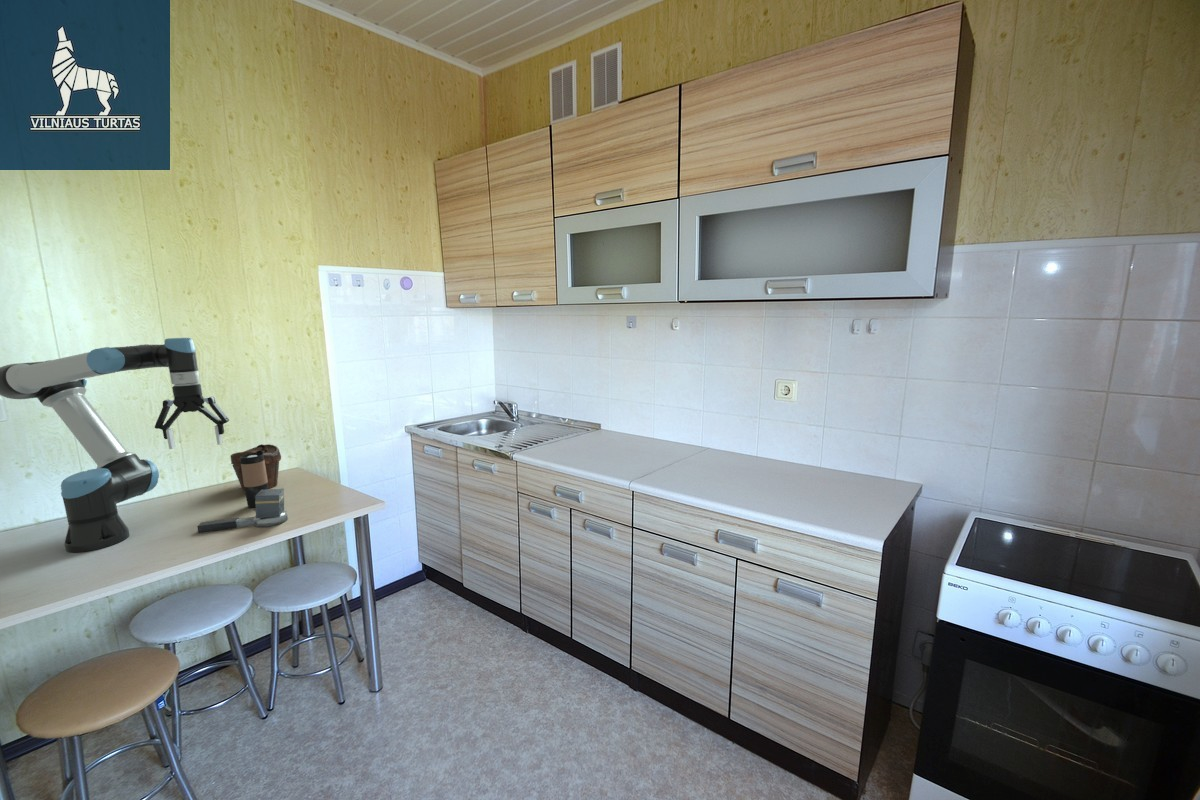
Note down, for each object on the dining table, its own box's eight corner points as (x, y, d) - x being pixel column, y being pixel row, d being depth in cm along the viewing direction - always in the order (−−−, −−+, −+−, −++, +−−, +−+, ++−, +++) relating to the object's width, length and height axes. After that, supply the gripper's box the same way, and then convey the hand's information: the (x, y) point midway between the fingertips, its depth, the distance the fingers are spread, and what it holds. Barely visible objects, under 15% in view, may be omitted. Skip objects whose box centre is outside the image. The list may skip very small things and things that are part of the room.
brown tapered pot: (281, 476, 234) (275, 438, 230) (288, 487, 218) (282, 446, 215) (233, 486, 223) (226, 446, 219) (238, 498, 207) (230, 455, 204)
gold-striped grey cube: (255, 518, 176) (255, 495, 175) (261, 511, 183) (261, 489, 182) (279, 517, 179) (279, 495, 178) (284, 510, 185) (284, 488, 184)
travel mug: (275, 501, 201) (268, 452, 198) (260, 509, 194) (253, 458, 191) (257, 501, 202) (250, 452, 199) (242, 508, 195) (234, 458, 191)
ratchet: (194, 537, 170) (190, 515, 169) (206, 525, 179) (202, 505, 178) (283, 524, 178) (281, 504, 177) (290, 514, 188) (288, 495, 186)
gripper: (134, 388, 164) (146, 452, 167) (226, 383, 172) (235, 444, 175) (146, 385, 171) (157, 447, 174) (233, 380, 179) (242, 439, 182)
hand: (196, 446), depth 175 cm, fingers open, 13 cm apart
